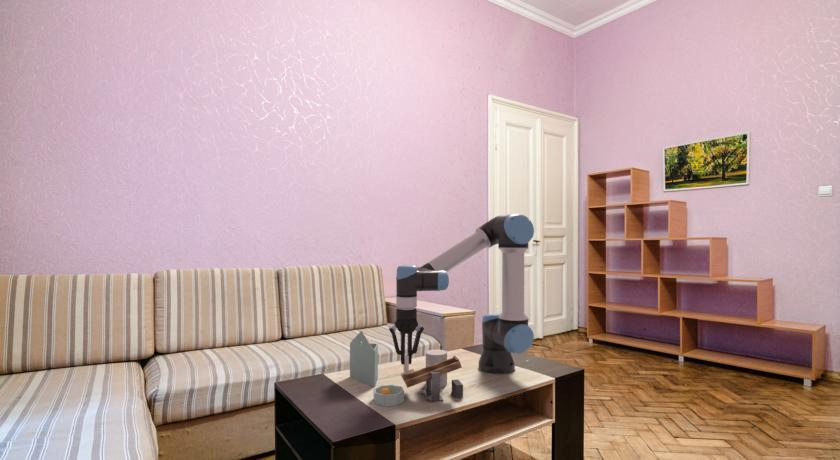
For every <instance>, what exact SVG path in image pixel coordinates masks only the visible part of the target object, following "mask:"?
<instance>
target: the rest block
mask: <svg viewBox="0 0 840 460" xmlns="http://www.w3.org/2000/svg"><path fill="white" fill-rule="evenodd" d="M451 393H452V394H453V395H454V397H455V398H456V399H459V398H464V384H463V383H462V382H461V381H460V380H459V379H458V378H457V379H451Z"/></svg>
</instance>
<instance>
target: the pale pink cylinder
mask: <svg viewBox="0 0 840 460" xmlns="http://www.w3.org/2000/svg"><path fill="white" fill-rule="evenodd" d="M447 359H448V352H447V350H445V349H444V350H443V349H429V350H426V351H425V366H426V365H433V364H436V363H439V362H442V361H444V360H447ZM447 385H448V373H446V374H443V375H440V388H443V387H446V386H447Z"/></svg>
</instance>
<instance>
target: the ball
mask: <svg viewBox="0 0 840 460" xmlns="http://www.w3.org/2000/svg"><path fill="white" fill-rule="evenodd" d="M380 394H384V395H388V394H391V393H390V390H389V389H387V388H384V389H382V390H381V392H380Z"/></svg>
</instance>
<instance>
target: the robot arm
mask: <svg viewBox="0 0 840 460" xmlns="http://www.w3.org/2000/svg"><path fill="white" fill-rule="evenodd" d="M534 233H535V228H534V223H533V222H532V220H530V218H529V217H528V216H526V215H524V214H522V213H521V214H520V213H511V214H500V215H497V216H495V217H493V218H491V219H490V220H488V221H487V222H485V223H484V224H482V225H481V226H479V227H478V228H476V229H475V232H474V233H472V234H471V235H469V236H468V237H466V238H464V239H463V240H461V241H460V242H458V243H457V244H455V245H453V246H452V247H450V248H449V249H447V250H446V251H444V252H443V253H441V254H439V255H437V256H435V257H434V258H433V259H431V260H430V261H428V262H427V263H425V264H423V265H422V266H420V267H419V266H418V267H417V265H406V264H404V265H399V266H397V269H396V278H395V279H396V281H395V282H396V283H395V284H396V285H395V286H396V287H395V288H396V293H395V294H396V296H395V297H396V298H395V299H396V300H395V301H396V302H395V305H396V306H395V307H396V309H395V310H396V311H395V322H394V325H392V326H390V327H388V330H389V332H390V333H391V337H392V341H393V345H394V350H395V353H396V354H397V355H400V364H401V365H403V368H402V369H403V372H404V374H409V370H410V369H409V368H410V367H409V365H411V364H412V356H413V355H414V354H417V351H418V349H419V345H420V344H419V343H420V342H421V341H420V340H421V336H422V333H423V332H424V330H425V328H424V326H423V325H420V324H419V322H418V319H417V317H418V312H417V311H418V310H417V307H418V292H431V291H432V292H441V291H446V290H447V289H448V287H449V284H450V282H449V281H450V278H449V274H448V272H450V271H451V270H453V269H454V268H456V267H457V266H459V265H461V264H463V263H464V262H465V261H467V260H468V259H470V258H471V257H473V256H475V255H476V254H478V253H479V252H481V251H483V250H484V249H489V248H491V247H493V246H495V245H498V247H497V248H498V249H499V250H500V251H501V255H502V256H501V257H502V259H501V262H502V263H501V267H502V269H501V270H502V271H501V274H502V275H501V277H502V278H501V290H502V292H501V307H502V308H501V310H502V311H501V312H500V313H487V314H484V315H483V316H482V318H481V319H482V320H481V326H482V327H481V328H482V329H481V332H482V337H481V338H482V340H481V341H482V349H481V352H480V353H481V354H480V356H479V360H478V369H479V370H480V371H482V372H485V373H490V374H509V373H513V372H514V371H515V368H516V365H515V361H514V358H513V354H517V355H519V354H523V353H526V352H527V351H528V350H529V349H530V348H531V347H532V345H533V343H534V339H535V338H534V337H535V335H534V332H533V330H532V328H531V327H530V326H529V317H528V315H527V314H525V253H526V251H527V250H528V249H529V243H530V241H531V240H532V239H533V237H534ZM397 330H398V332H399V334H400V346H399V341H398V337H397V335H396V334H397V333H396V332H397ZM415 330H416V334H415V337H414V341H413V333H414V331H415ZM406 335H407V342H406ZM406 343H407V350H406ZM406 351H407V353H406ZM403 372H402V373H403Z"/></svg>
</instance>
